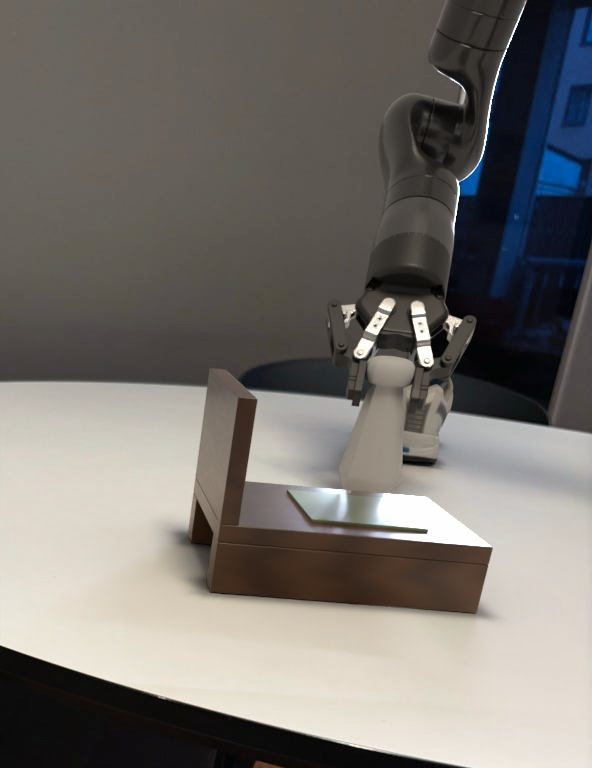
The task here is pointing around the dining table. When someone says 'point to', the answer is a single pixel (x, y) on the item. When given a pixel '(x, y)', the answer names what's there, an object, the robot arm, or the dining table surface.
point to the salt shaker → (378, 429)
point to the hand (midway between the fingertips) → (384, 404)
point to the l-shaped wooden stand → (321, 529)
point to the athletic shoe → (426, 422)
